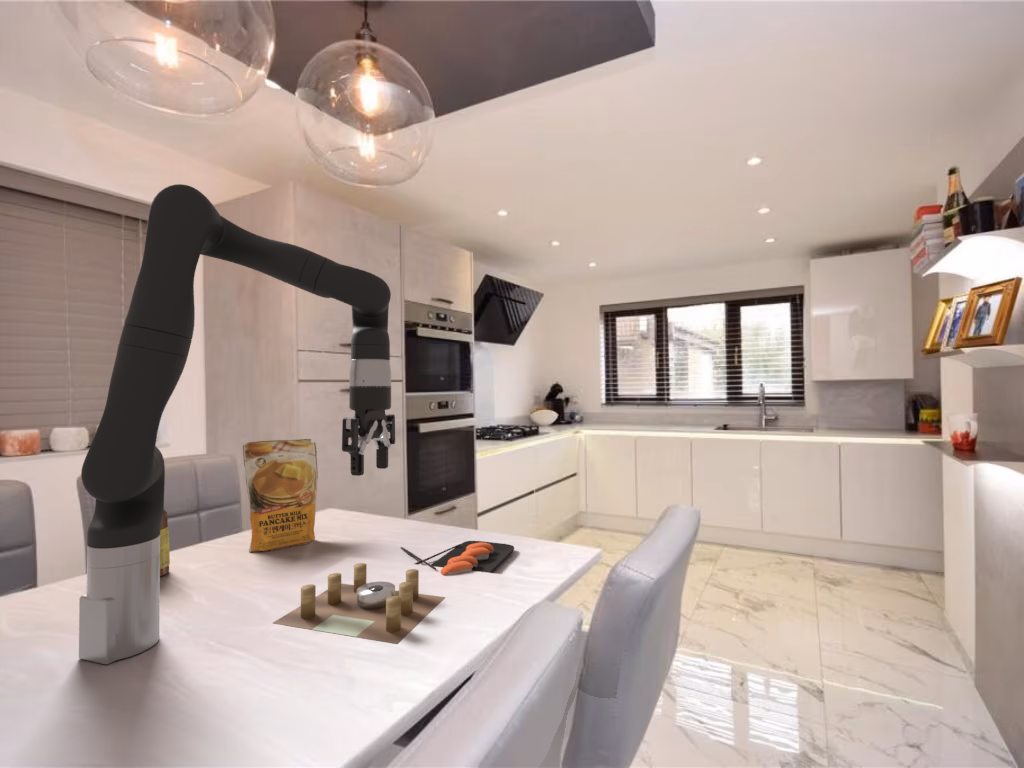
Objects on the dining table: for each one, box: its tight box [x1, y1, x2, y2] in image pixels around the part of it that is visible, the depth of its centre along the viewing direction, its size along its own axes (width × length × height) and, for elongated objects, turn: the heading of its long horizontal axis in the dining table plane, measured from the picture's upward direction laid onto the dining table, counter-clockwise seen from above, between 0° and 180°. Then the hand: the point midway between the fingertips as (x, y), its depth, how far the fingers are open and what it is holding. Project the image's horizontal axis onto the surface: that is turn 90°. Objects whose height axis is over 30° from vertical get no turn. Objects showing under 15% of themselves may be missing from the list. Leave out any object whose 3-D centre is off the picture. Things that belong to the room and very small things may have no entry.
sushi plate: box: [400, 540, 515, 576], centre depth 117 cm, size 29×30×4 cm
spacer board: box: [272, 562, 446, 645], centre depth 89 cm, size 18×24×6 cm
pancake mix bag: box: [242, 438, 319, 552], centre depth 130 cm, size 7×19×28 cm, turn 129°
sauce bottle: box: [160, 508, 171, 577], centre depth 109 cm, size 7×6×20 cm
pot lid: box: [357, 581, 396, 610], centre depth 92 cm, size 7×7×3 cm
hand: (370, 471), depth 91 cm, fingers open, 8 cm apart
